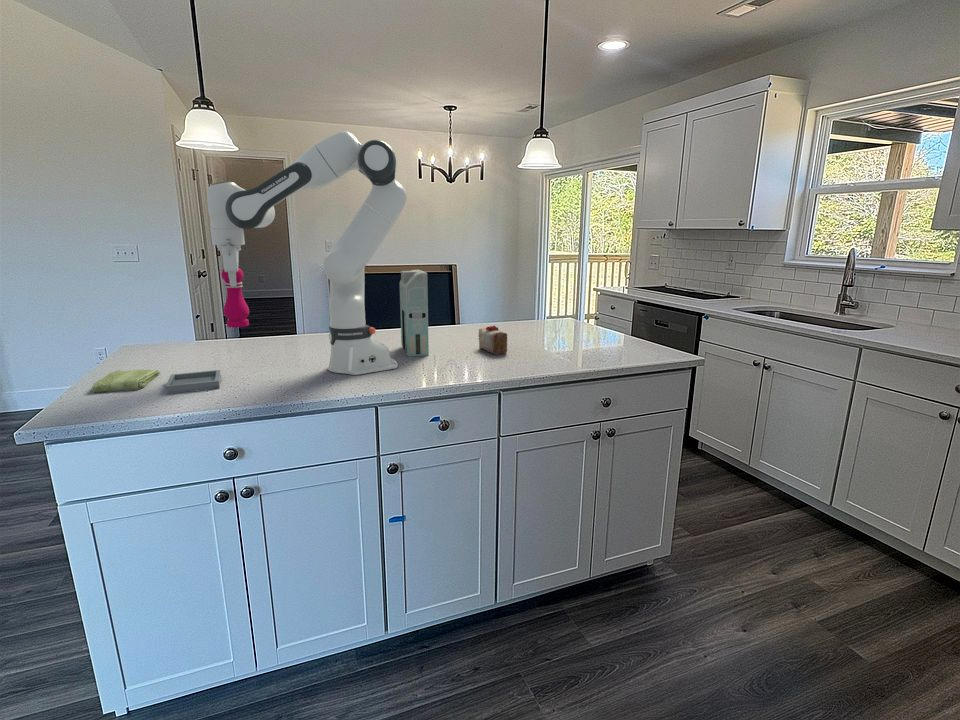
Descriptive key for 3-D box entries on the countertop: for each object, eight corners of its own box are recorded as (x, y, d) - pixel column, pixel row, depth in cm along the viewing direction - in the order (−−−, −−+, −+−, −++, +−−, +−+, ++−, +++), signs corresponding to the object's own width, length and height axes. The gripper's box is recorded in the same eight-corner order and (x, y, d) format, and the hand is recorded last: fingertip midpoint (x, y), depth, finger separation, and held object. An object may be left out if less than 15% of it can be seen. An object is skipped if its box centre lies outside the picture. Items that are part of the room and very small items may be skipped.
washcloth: (162, 375, 156) (161, 365, 155) (142, 391, 140) (140, 380, 139) (114, 378, 152) (112, 368, 152) (87, 395, 136) (85, 384, 135)
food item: (475, 348, 194) (475, 323, 192) (493, 346, 198) (493, 322, 195) (492, 355, 182) (492, 329, 180) (510, 353, 186) (511, 327, 183)
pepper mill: (240, 328, 151) (233, 261, 146) (220, 327, 153) (211, 261, 148) (255, 324, 158) (249, 260, 153) (235, 323, 159) (228, 260, 155)
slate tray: (220, 376, 153) (220, 369, 152) (219, 388, 142) (218, 380, 141) (172, 381, 148) (171, 374, 147) (166, 394, 136) (165, 386, 136)
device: (401, 347, 195) (399, 269, 187) (420, 346, 197) (419, 269, 189) (407, 356, 179) (405, 273, 172) (428, 355, 182) (427, 273, 174)
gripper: (239, 239, 141) (245, 288, 144) (239, 238, 159) (244, 281, 162) (215, 239, 138) (221, 289, 142) (217, 238, 156) (223, 282, 160)
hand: (233, 285), depth 152 cm, fingers closed on pepper mill, 5 cm apart
